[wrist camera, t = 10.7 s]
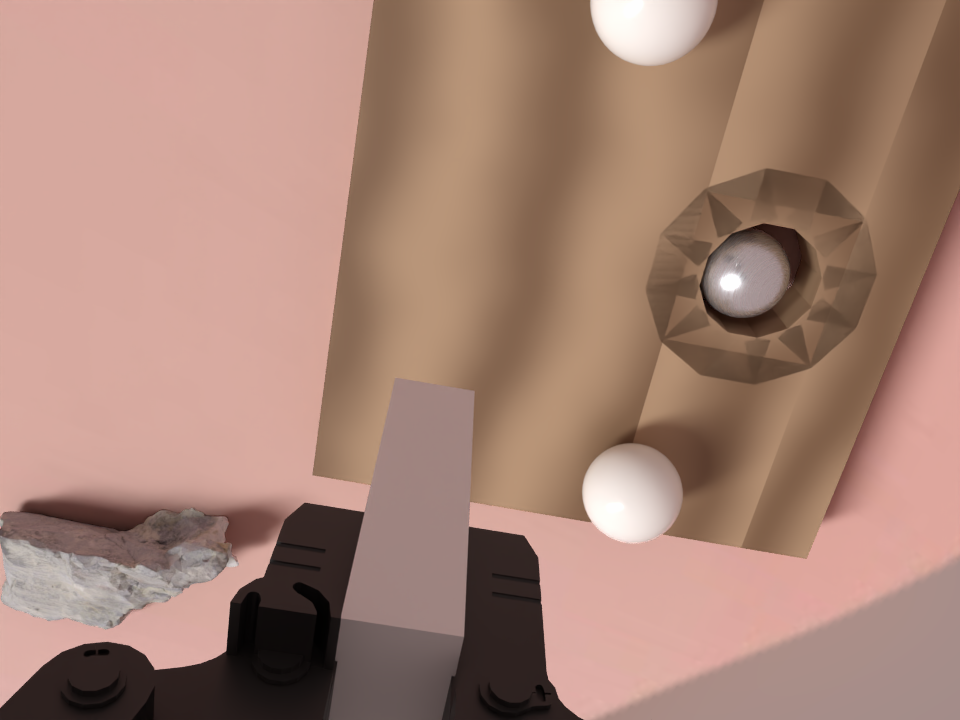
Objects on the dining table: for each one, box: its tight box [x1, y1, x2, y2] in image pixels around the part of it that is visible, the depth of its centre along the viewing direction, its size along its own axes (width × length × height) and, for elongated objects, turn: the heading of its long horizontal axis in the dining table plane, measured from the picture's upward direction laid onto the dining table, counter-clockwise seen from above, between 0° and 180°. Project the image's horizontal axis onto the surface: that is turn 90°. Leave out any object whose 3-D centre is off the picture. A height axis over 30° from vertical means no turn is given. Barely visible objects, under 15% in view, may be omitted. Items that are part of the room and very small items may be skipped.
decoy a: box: [590, 0, 718, 66], centre depth 29 cm, size 4×4×4 cm
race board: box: [313, 0, 960, 559], centre depth 35 cm, size 22×24×2 cm
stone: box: [0, 508, 239, 629], centre depth 42 cm, size 6×12×4 cm, turn 89°
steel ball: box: [699, 228, 790, 318], centre depth 35 cm, size 4×4×4 cm
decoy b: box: [582, 443, 683, 544], centre depth 36 cm, size 4×4×4 cm
